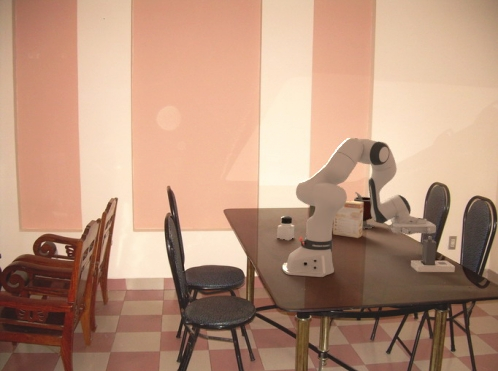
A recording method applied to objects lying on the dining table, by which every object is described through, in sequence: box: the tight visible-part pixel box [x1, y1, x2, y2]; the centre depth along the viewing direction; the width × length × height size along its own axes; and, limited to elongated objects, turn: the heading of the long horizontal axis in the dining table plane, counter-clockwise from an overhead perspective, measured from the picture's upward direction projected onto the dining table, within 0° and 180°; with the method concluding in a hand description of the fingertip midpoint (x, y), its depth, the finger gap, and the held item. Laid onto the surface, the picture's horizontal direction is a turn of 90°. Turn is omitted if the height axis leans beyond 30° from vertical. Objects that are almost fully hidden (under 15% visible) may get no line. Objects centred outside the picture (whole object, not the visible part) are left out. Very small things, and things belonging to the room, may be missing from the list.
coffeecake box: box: [332, 199, 364, 239], centre depth 272 cm, size 15×7×20 cm, turn 59°
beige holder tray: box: [410, 260, 456, 273], centre depth 210 cm, size 16×8×4 cm, turn 92°
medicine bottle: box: [276, 215, 296, 241], centre depth 263 cm, size 7×7×12 cm
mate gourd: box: [353, 191, 375, 229], centre depth 295 cm, size 16×14×20 cm
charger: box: [421, 235, 437, 265], centre depth 209 cm, size 4×5×14 cm
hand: (419, 232), depth 221 cm, fingers open, 8 cm apart
